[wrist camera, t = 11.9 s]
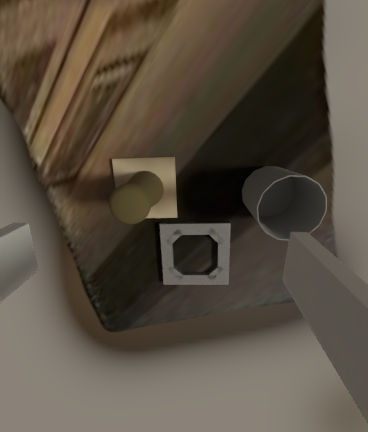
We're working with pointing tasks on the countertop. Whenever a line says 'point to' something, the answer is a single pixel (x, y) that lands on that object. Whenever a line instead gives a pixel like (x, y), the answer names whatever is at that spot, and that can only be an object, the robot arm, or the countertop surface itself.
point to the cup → (284, 201)
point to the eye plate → (176, 229)
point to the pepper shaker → (136, 197)
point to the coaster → (158, 166)
